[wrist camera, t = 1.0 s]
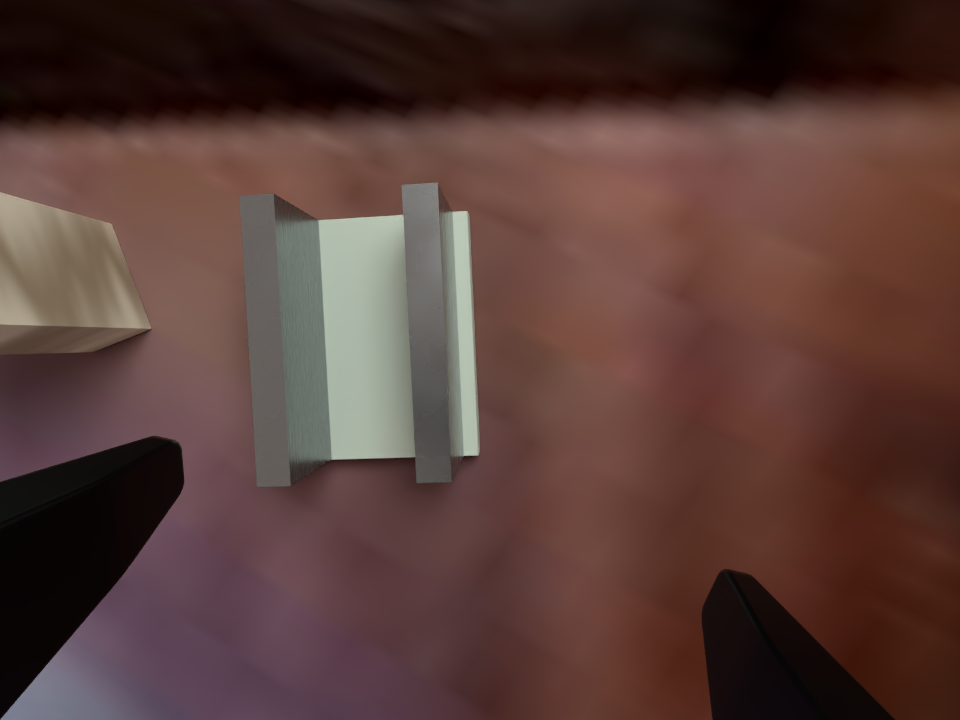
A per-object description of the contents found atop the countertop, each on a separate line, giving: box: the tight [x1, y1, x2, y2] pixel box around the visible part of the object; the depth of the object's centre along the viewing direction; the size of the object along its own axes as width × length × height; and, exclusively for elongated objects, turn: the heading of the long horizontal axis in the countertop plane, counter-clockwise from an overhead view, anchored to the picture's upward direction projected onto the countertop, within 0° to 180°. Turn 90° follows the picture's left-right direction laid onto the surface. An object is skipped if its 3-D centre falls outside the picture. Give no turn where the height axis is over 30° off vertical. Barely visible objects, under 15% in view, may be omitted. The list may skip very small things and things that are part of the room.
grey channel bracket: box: [240, 183, 480, 487], centre depth 20 cm, size 10×8×5 cm
